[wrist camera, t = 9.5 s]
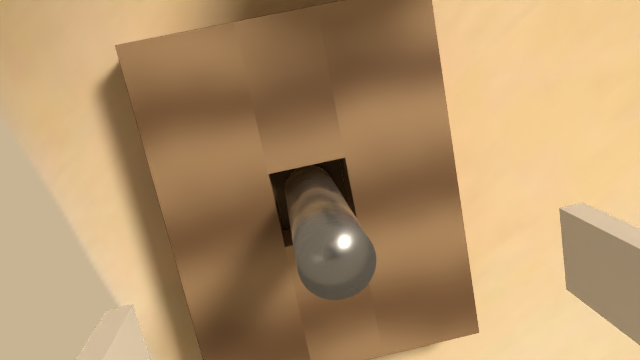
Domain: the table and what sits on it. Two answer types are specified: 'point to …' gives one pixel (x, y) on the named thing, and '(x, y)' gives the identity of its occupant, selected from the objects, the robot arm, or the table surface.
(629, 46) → the table surface
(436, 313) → the hole board
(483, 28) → the table surface
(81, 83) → the table surface
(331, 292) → the pin
